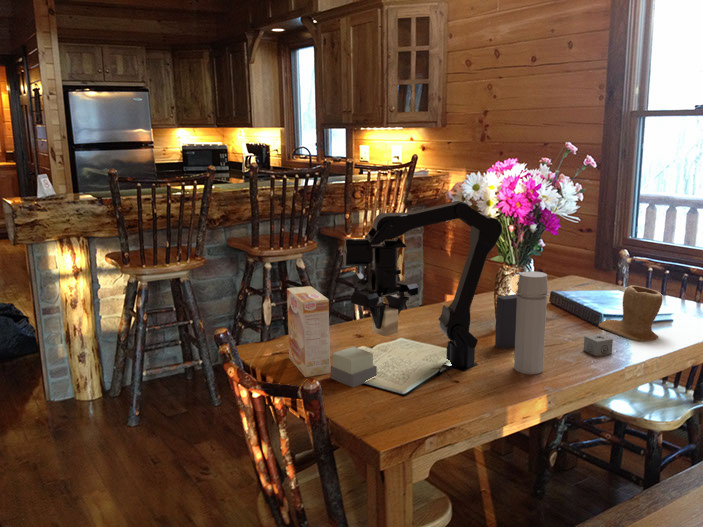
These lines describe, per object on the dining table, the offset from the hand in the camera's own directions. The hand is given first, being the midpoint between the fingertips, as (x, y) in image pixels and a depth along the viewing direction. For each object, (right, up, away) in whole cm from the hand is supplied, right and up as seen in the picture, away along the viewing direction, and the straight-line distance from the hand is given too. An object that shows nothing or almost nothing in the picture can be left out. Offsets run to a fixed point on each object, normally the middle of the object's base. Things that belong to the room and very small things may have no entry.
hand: (385, 326), depth 160 cm
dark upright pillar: (+37, -8, +18) cm, 42 cm away
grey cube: (+58, -9, +12) cm, 59 cm away
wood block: (0, -2, 0) cm, 2 cm away
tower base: (-8, -13, -2) cm, 15 cm away
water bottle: (+37, -11, +2) cm, 38 cm away
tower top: (-8, -10, -3) cm, 13 cm away
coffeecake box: (-19, -11, +7) cm, 23 cm away
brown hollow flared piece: (+73, -6, +27) cm, 78 cm away
